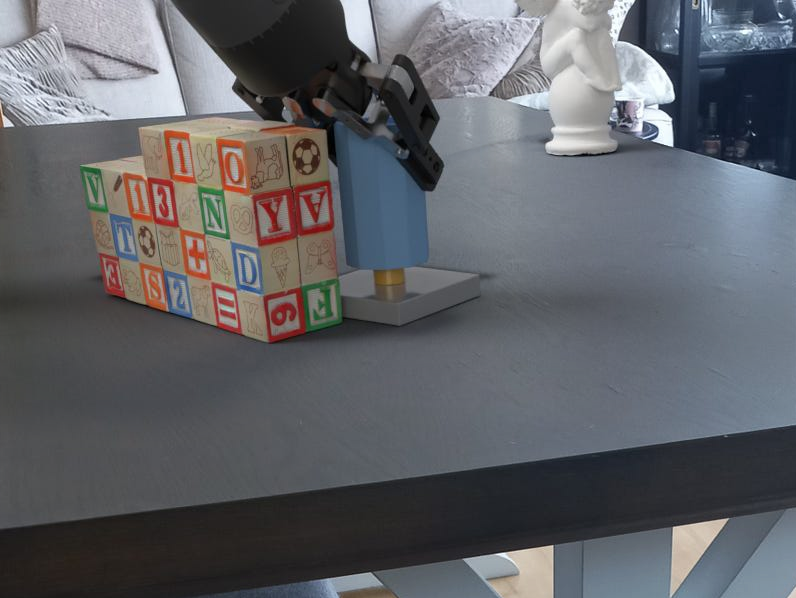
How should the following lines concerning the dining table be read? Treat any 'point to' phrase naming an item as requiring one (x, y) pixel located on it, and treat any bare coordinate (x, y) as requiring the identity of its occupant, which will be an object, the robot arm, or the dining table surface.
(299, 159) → the stack of blocks
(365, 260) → the sleeve
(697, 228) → the dining table surface
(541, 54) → the cherub figurine
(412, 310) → the peg stand
